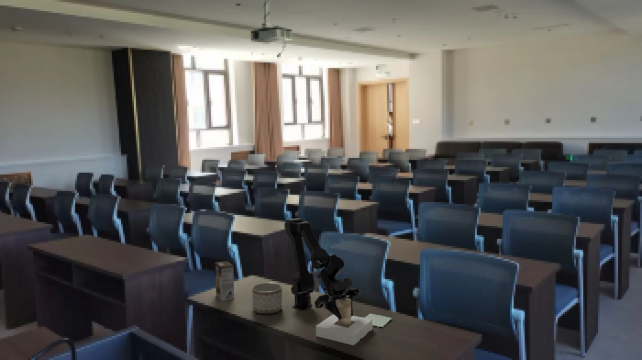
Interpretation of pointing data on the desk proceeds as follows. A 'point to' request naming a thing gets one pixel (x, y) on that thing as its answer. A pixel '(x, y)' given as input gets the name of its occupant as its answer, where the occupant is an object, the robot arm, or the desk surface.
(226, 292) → the coffee box
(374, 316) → the green pad
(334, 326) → the pocket block
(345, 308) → the wooden peg
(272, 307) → the planter
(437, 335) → the desk surface
